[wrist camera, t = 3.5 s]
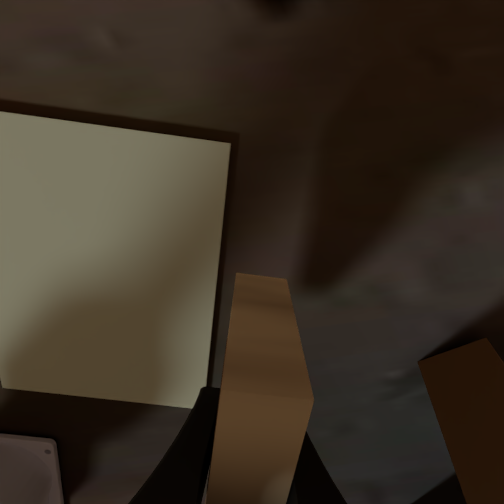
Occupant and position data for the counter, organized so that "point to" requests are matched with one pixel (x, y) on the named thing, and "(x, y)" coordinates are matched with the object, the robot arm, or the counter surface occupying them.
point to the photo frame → (471, 416)
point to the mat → (108, 259)
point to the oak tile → (260, 397)
